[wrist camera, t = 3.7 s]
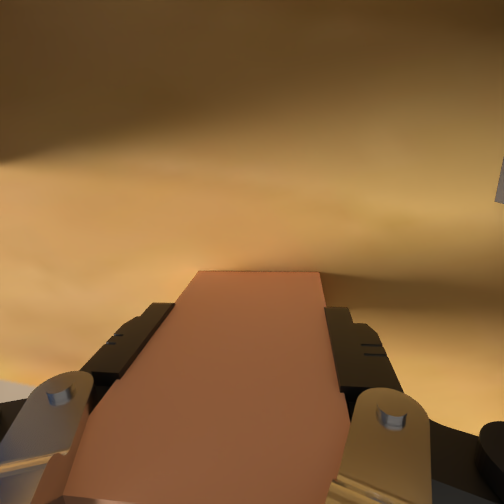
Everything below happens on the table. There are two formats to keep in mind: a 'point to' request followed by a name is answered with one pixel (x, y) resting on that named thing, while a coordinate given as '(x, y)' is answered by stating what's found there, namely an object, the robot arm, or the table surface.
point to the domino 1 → (222, 402)
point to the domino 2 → (500, 187)
